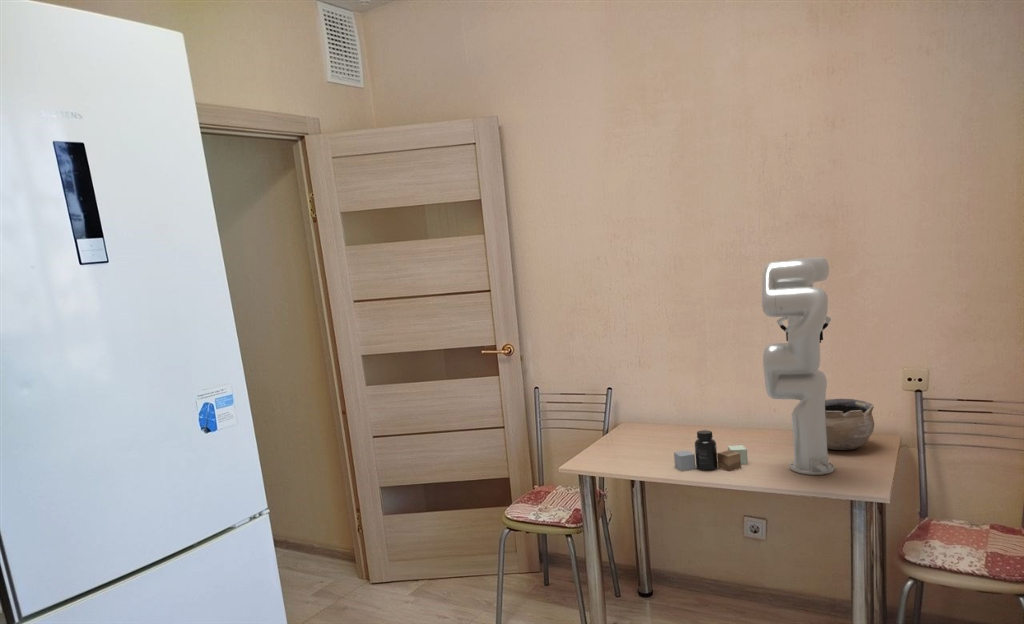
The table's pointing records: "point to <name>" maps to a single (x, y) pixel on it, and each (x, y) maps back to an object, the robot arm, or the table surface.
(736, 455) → the walnut cube
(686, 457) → the slate cube
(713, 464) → the supplement bottle
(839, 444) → the ceramic bowl
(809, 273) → the robot arm
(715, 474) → the table surface
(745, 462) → the sage cube
